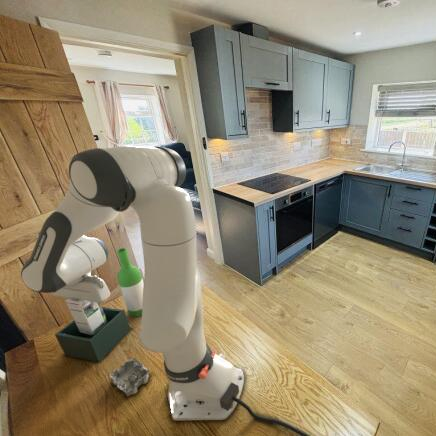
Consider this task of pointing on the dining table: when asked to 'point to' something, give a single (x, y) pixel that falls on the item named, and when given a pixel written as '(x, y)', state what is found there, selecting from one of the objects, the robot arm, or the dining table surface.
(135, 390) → the grey jagged rectangular tray
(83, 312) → the syrup box
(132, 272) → the wine bottle
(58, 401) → the dining table surface
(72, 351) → the waste bin
